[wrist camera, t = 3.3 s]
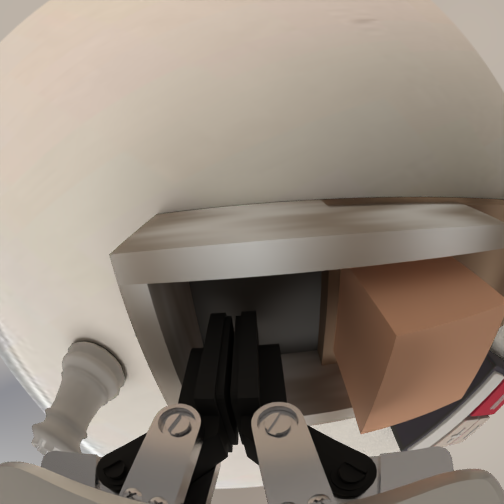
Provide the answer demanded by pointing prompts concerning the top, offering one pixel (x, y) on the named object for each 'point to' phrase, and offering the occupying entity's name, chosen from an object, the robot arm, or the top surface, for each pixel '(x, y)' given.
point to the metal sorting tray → (287, 277)
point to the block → (411, 337)
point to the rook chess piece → (78, 397)
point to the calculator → (457, 412)
